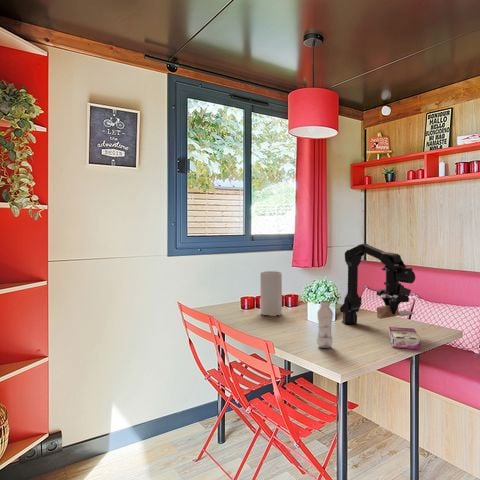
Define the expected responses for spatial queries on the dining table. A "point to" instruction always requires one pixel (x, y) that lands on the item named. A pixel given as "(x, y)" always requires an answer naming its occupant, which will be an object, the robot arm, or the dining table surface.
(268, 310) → the cylinder vase
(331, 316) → the plastic bottle
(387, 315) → the turner
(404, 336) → the candy bar box
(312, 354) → the dining table surface
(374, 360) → the dining table surface
